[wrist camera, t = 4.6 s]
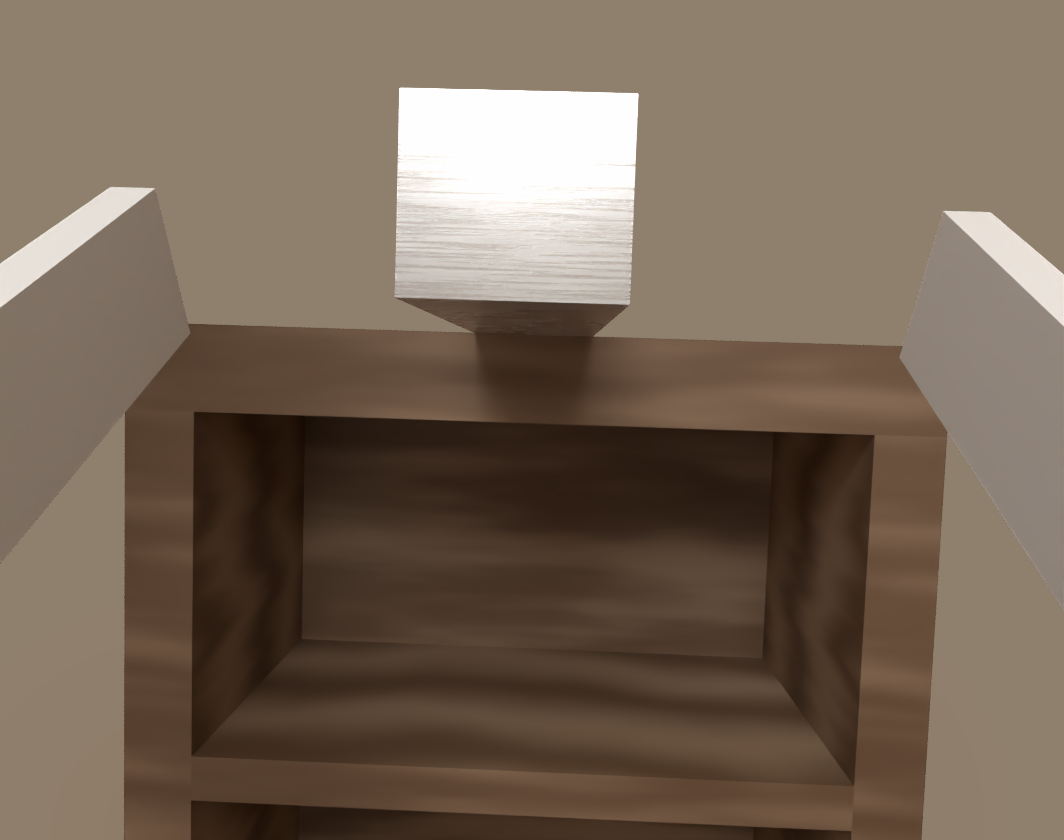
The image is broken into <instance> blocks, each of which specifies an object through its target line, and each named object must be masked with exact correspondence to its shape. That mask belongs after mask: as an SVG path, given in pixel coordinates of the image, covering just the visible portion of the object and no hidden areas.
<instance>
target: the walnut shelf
mask: <svg viewBox="0 0 1064 840" xmlns="http://www.w3.org/2000/svg"><path fill="white" fill-rule="evenodd" d="M188 326H189V330H190V334H189V336H188V337H187V338H186V339H185V340H184V342H183V343H182V344H181V345H180V346H179V348H178V349H177V350H176V351H175V353H174V354H173V355H172V356H171V357H170V359H169V360H168V361H167V362H166V363H165V365H164V366H163V367H162V368H161V370H160V371H159V372H158V373H157V374H156V376H155V377H154V378H153V379H152V380H151V382H150V383H149V384H148V385H147V387H146V388H145V389H144V390H143V391H142V393H141V394H140V395H139V396H138V397H137V399H136V400H135V401H134V402H133V404H132V405H131V406H130V407H129V408H128V410H127V411H126V412H125V659H124V661H125V665H124V667H125V668H124V670H125V671H124V674H125V675H124V676H125V677H124V678H125V679H124V681H125V682H124V697H125V698H124V718H125V719H124V840H921V836H922V820H923V805H924V788H925V772H926V757H927V742H928V726H929V725H928V724H929V710H930V695H931V679H932V678H931V677H932V662H933V648H934V631H935V615H936V600H937V585H938V569H939V552H940V538H941V522H942V506H943V490H944V475H945V459H946V444H947V430H946V429H945V427H944V426H943V424H942V422H941V421H940V419H939V418H938V416H937V415H936V413H935V412H934V410H933V409H932V407H931V405H930V404H929V402H928V401H927V399H926V398H925V396H924V395H923V393H922V392H921V390H920V389H919V387H918V385H917V384H916V382H915V381H914V379H913V378H912V376H911V375H910V373H909V372H908V370H907V368H906V367H905V365H904V364H903V362H902V361H901V359H900V358H899V357H900V354H901V350H902V347H903V346H874V345H873V346H872V345H842V344H811V343H778V342H747V341H715V340H683V339H652V338H651V339H650V338H619V337H618V338H617V337H588V336H557V335H525V334H493V333H461V332H460V333H459V332H430V331H397V330H366V329H335V328H334V329H333V328H302V327H301V328H300V327H271V326H269V327H268V326H239V325H206V324H188Z"/></svg>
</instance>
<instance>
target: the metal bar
mask: <svg viewBox="0 0 1064 840" xmlns="http://www.w3.org/2000/svg"><path fill="white" fill-rule="evenodd" d="M399 93H400V94H399V136H398V137H399V139H398V182H397V183H398V185H397V227H396V228H397V230H396V273H395V298H397V299H399V300H402V301H404V302H406V303H408V304H411V305H413V306H415V307H418V308H420V309H422V310H424V311H427V312H429V313H431V314H433V315H435V316H438V317H440V318H442V319H444V320H447V321H449V322H451V323H453V324H456V325H458V326H460V327H462V328H465V329H467V330H469V331H471V332H474V333H493V334H525V335H557V336H588V337H593V336H594V335H595V334H596V333H597V332H599V331H600V330H601V329H602V328H603V327H604V326H606V325H607V324H608V323H609V322H610V321H611V320H612V319H614V318H615V317H616V316H617V315H618V314H619V313H621V312H622V311H623V310H624V309H625V308H626V307H628V306H629V305H630V283H631V258H632V234H633V209H634V184H635V158H636V133H637V108H638V107H637V106H638V94H634V93H592V92H549V91H508V90H464V89H462V90H461V89H423V88H400V91H399Z"/></svg>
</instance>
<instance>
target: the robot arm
mask: <svg viewBox="0 0 1064 840" xmlns="http://www.w3.org/2000/svg"><path fill="white" fill-rule="evenodd" d="M189 334H190V330H189V326H188V321H187V317H186V313H185V309H184V305H183V301H182V297H181V293H180V288H179V285H178V280H177V276H176V272H175V268H174V264H173V260H172V256H171V251H170V248H169V243H168V239H167V235H166V231H165V227H164V223H163V218H162V214H161V210H160V206H159V202H158V198H157V194H156V190H155V188H126V187H125V188H122V187H110V188H109V189H107V190H106V191H104V192H103V193H101V194H100V195H98V196H97V197H96V198H94V199H93V200H91V201H90V202H88V203H87V204H86V205H84V206H83V207H81V208H80V209H78V210H77V211H75V212H74V213H73V214H71V215H70V216H68V217H67V218H65V219H64V220H62V221H61V222H60V223H58V224H57V225H55V226H54V227H52V228H51V229H50V230H48V231H47V232H45V233H44V234H42V235H41V236H39V237H38V238H36V239H35V240H34V241H32V242H31V243H29V244H28V245H26V246H25V247H24V248H22V249H21V250H19V251H18V252H16V253H15V254H13V255H12V256H11V257H9V258H8V259H6V260H5V261H4V262H2V263H1V264H0V564H1V562H2V561H3V560H4V559H5V557H6V556H7V555H8V554H9V553H10V552H11V550H12V549H13V548H14V547H15V545H16V544H17V543H18V542H19V540H20V539H21V538H22V537H23V536H24V535H25V533H26V532H27V531H28V530H29V528H30V527H31V526H32V525H33V524H34V522H35V521H36V520H37V519H38V517H39V516H40V515H41V514H42V513H43V511H44V510H45V509H46V508H47V506H48V505H49V504H50V503H51V501H53V499H54V498H55V497H56V496H57V495H58V493H59V492H60V491H61V490H62V488H63V487H64V486H65V485H66V484H67V482H68V481H69V480H70V479H71V477H72V476H73V475H74V474H75V473H76V471H77V470H78V469H79V468H80V467H81V465H82V464H83V463H84V461H86V459H87V458H88V457H89V456H90V454H91V453H92V452H93V451H94V450H95V448H96V447H97V446H98V445H99V444H100V442H101V441H102V440H103V439H104V437H105V436H106V435H107V434H108V433H109V431H110V430H111V429H112V427H113V426H114V425H115V424H116V423H117V422H118V420H119V419H120V418H121V417H122V416H123V414H124V413H125V412H126V411H127V410H128V408H129V407H130V406H131V405H132V404H133V402H134V401H135V400H136V399H137V397H138V396H139V395H140V394H141V393H142V391H143V390H144V389H145V388H146V387H147V385H148V384H149V383H150V382H151V380H152V379H153V378H154V377H155V376H156V374H157V373H158V372H159V371H160V370H161V368H162V367H163V366H164V365H165V363H166V362H167V361H168V360H169V359H170V357H171V356H172V355H173V354H174V353H175V351H176V350H177V349H178V348H179V346H180V345H181V344H182V343H183V342H184V340H185V339H186V338H187V337H188V336H189ZM899 358H900V359H901V361H902V362H903V364H904V365H905V367H906V368H907V370H908V372H909V373H910V375H911V376H912V378H913V379H914V381H915V382H916V384H917V385H918V387H919V389H920V390H921V392H922V393H923V395H924V396H925V398H926V399H927V401H928V402H929V404H930V405H931V407H932V409H933V410H934V412H935V413H936V415H937V416H938V418H939V419H940V421H941V422H942V424H943V426H944V427H945V429H946V430H947V432H948V433H949V435H950V436H951V438H952V439H953V441H954V443H955V444H956V446H957V447H958V449H959V450H960V452H961V453H962V455H963V456H964V458H965V459H966V461H967V462H968V464H969V466H970V467H971V469H972V470H973V472H974V473H975V475H976V476H977V478H978V480H979V481H980V483H981V484H982V486H983V487H984V489H985V490H986V492H987V493H988V495H989V497H990V498H991V499H992V501H993V503H994V504H995V506H996V507H997V509H998V510H999V512H1000V513H1001V515H1002V516H1003V518H1004V520H1005V521H1006V523H1007V524H1008V526H1009V527H1010V529H1011V530H1012V532H1013V533H1014V535H1015V536H1016V538H1017V540H1018V541H1019V543H1020V544H1021V546H1022V547H1023V549H1024V550H1025V552H1026V554H1027V555H1028V557H1029V558H1030V560H1031V561H1032V563H1033V564H1034V566H1035V567H1036V569H1037V571H1038V572H1039V574H1040V575H1041V577H1042V578H1043V580H1044V581H1045V583H1046V584H1047V586H1048V588H1049V589H1050V591H1051V592H1052V594H1053V595H1054V597H1055V598H1056V600H1057V601H1058V603H1059V604H1060V606H1061V608H1062V609H1063V611H1064V274H1062V273H1061V272H1060V271H1059V270H1058V269H1057V268H1055V267H1054V266H1053V265H1052V264H1051V263H1050V262H1048V261H1047V260H1046V259H1045V258H1044V257H1042V256H1041V255H1040V254H1039V253H1038V252H1037V251H1035V250H1034V249H1033V248H1032V247H1031V246H1029V245H1028V244H1027V243H1026V242H1025V241H1024V240H1022V239H1021V238H1020V237H1019V236H1018V235H1016V234H1015V233H1014V232H1013V231H1012V230H1011V229H1009V228H1008V227H1007V226H1006V225H1005V224H1004V223H1002V222H1001V221H1000V220H999V219H998V218H997V217H995V216H994V215H993V214H992V213H991V212H963V211H943V213H942V216H941V219H940V223H939V226H938V229H937V233H936V237H935V240H934V243H933V246H932V250H931V253H930V256H929V260H928V263H927V267H926V270H925V273H924V277H923V280H922V283H921V287H920V290H919V293H918V297H917V300H916V303H915V307H914V310H913V313H912V317H911V320H910V323H909V327H908V330H907V334H906V337H905V340H904V344H903V347H902V350H901V354H900V357H899Z"/></svg>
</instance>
